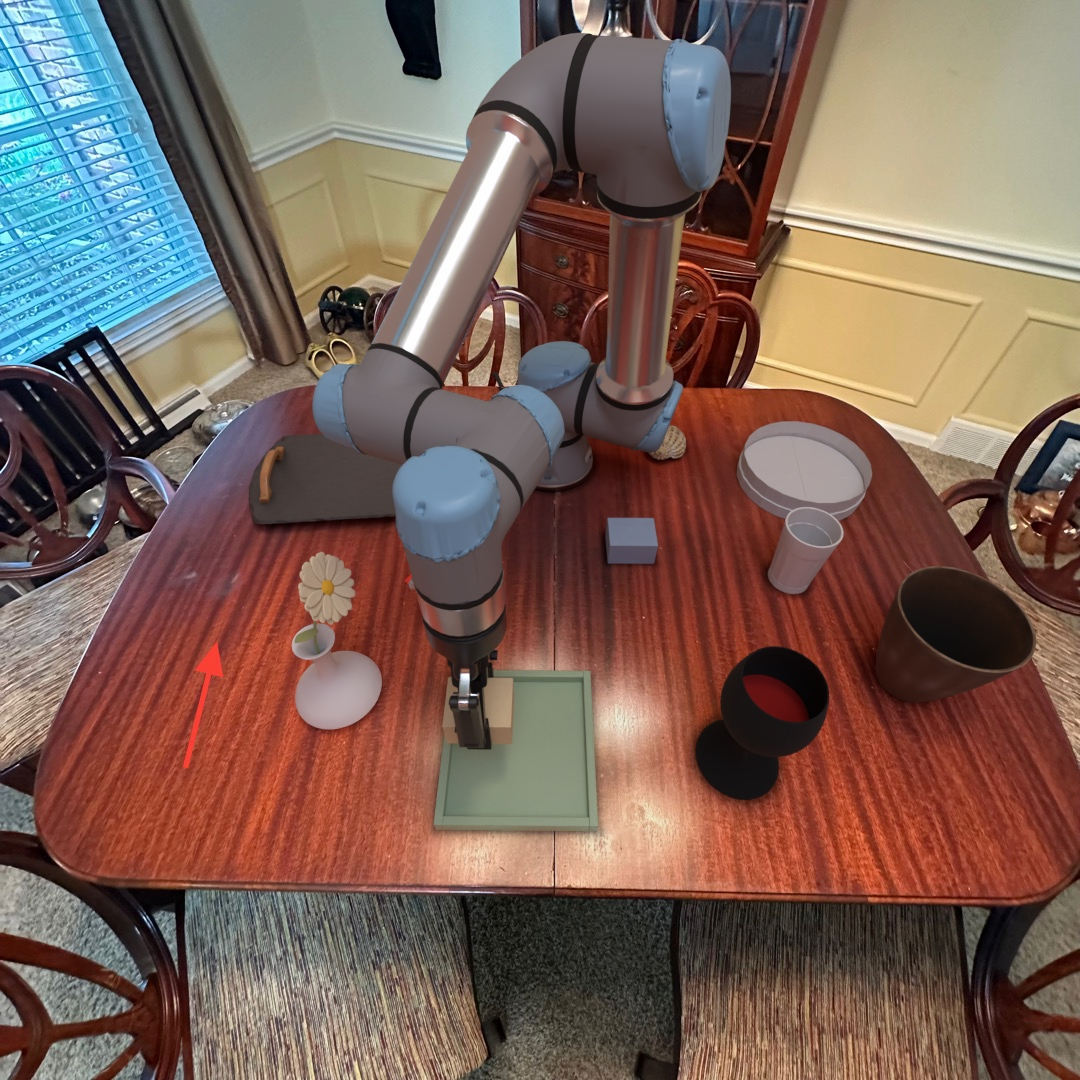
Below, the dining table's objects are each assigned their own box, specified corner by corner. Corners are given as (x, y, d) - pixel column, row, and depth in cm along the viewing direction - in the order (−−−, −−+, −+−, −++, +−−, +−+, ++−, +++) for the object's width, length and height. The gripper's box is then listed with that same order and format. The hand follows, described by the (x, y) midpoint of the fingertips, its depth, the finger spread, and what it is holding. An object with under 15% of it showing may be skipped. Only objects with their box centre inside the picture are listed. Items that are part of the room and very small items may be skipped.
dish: (742, 518, 104) (749, 498, 100) (730, 437, 118) (737, 416, 114) (875, 529, 102) (888, 509, 98) (847, 445, 116) (857, 425, 112)
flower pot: (987, 698, 82) (1065, 635, 69) (914, 752, 77) (984, 694, 65) (895, 618, 90) (950, 549, 78) (824, 661, 85) (871, 595, 73)
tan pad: (446, 743, 69) (442, 726, 65) (452, 695, 73) (448, 677, 69) (512, 744, 69) (510, 727, 65) (514, 695, 73) (513, 677, 69)
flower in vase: (342, 751, 77) (278, 649, 58) (280, 706, 81) (202, 598, 62) (409, 673, 84) (371, 560, 65) (349, 636, 88) (297, 519, 69)
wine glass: (686, 722, 79) (720, 642, 64) (763, 716, 80) (814, 635, 65) (707, 804, 72) (751, 736, 57) (791, 796, 73) (856, 727, 58)
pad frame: (435, 830, 71) (433, 824, 69) (453, 676, 84) (451, 669, 82) (597, 831, 71) (598, 826, 69) (589, 677, 84) (590, 670, 82)
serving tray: (241, 536, 101) (226, 510, 96) (270, 446, 116) (259, 421, 112) (471, 522, 103) (468, 496, 98) (470, 436, 118) (467, 410, 114)
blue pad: (607, 563, 97) (610, 545, 94) (605, 535, 101) (607, 517, 98) (654, 564, 97) (658, 545, 94) (649, 536, 101) (653, 517, 98)
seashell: (642, 449, 120) (647, 463, 111) (645, 419, 118) (650, 430, 108) (681, 451, 120) (689, 465, 110) (685, 421, 117) (693, 432, 108)
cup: (816, 602, 92) (847, 551, 83) (763, 593, 93) (787, 543, 84) (812, 562, 97) (839, 511, 88) (761, 554, 98) (783, 503, 89)
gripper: (434, 525, 60) (457, 648, 77) (403, 703, 47) (440, 801, 64) (509, 525, 59) (516, 648, 77) (499, 704, 47) (510, 802, 64)
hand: (481, 718), depth 71 cm, fingers closed on tan pad, 6 cm apart
